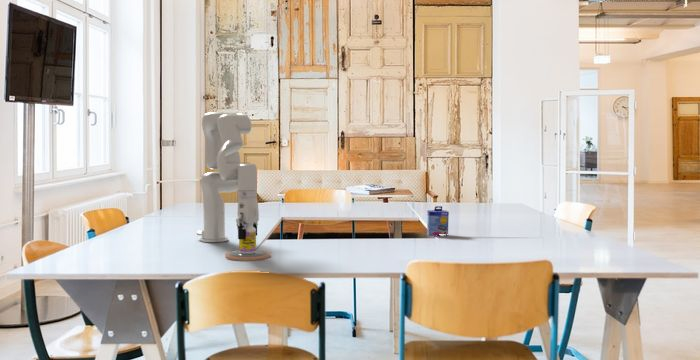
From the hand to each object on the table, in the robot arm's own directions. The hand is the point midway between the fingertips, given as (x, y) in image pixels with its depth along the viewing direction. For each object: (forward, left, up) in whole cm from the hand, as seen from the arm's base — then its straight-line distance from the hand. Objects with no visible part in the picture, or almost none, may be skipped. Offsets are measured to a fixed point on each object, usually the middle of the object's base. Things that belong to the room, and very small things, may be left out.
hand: (247, 237), depth 257 cm
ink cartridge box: (+62, +79, -8) cm, 101 cm away
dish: (0, 0, -8) cm, 8 cm away
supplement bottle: (0, 0, -6) cm, 7 cm away
